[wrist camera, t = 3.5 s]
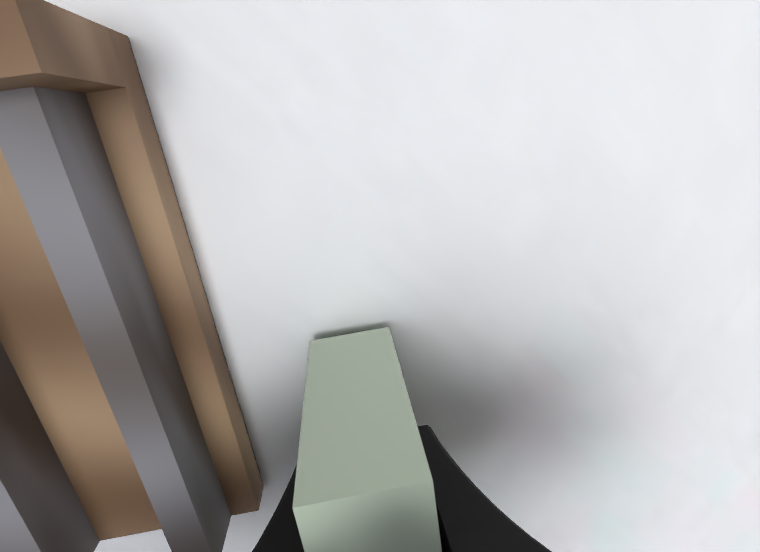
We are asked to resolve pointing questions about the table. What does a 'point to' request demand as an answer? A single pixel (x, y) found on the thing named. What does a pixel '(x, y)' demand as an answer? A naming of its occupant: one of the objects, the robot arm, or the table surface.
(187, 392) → the track sill
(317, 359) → the door panel
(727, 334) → the table surface
